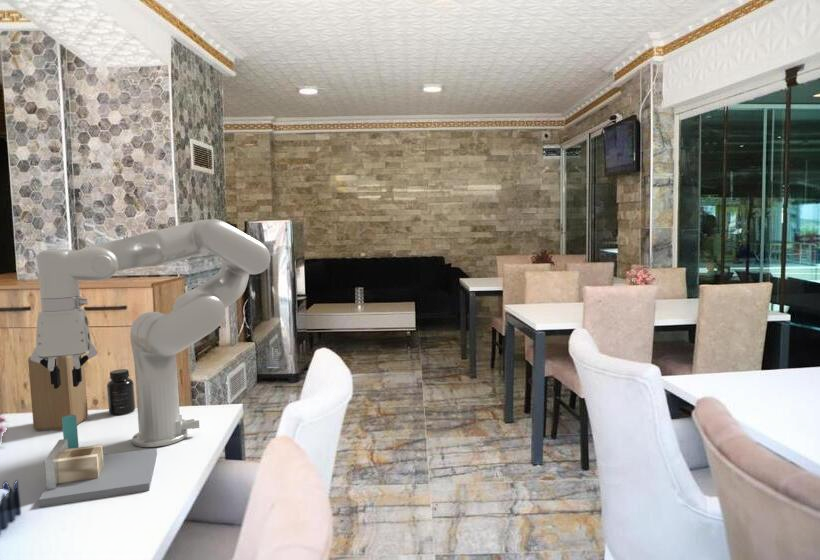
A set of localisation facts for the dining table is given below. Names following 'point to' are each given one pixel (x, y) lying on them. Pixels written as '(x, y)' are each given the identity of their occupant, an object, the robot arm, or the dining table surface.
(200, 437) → the dining table surface
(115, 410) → the supplement bottle
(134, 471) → the base board
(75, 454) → the birch block
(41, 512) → the dining table surface
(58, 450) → the backstop wall
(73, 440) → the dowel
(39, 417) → the wooden block
